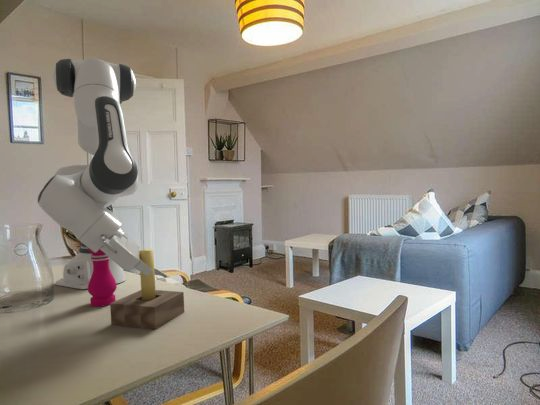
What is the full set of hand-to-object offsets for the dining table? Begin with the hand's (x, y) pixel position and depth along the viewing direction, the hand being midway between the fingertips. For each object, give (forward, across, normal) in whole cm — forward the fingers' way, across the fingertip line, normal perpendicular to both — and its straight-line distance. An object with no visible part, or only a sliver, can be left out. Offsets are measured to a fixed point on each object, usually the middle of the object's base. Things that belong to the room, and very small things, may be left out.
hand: (150, 271), depth 93 cm
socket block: (+8, 0, +8) cm, 11 cm away
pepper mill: (-1, +18, +17) cm, 25 cm away
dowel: (+4, 0, +5) cm, 7 cm away
